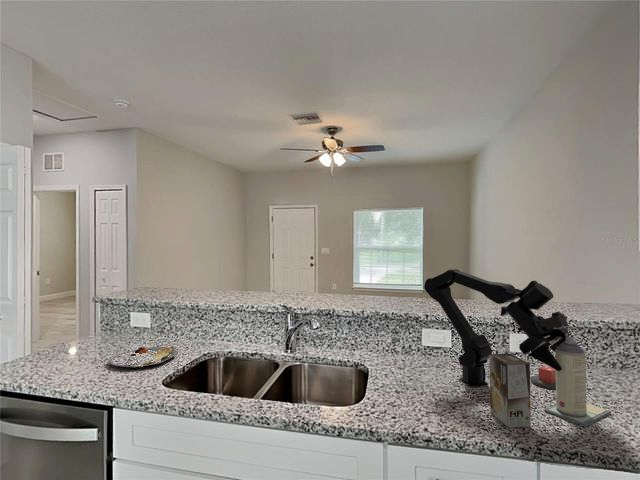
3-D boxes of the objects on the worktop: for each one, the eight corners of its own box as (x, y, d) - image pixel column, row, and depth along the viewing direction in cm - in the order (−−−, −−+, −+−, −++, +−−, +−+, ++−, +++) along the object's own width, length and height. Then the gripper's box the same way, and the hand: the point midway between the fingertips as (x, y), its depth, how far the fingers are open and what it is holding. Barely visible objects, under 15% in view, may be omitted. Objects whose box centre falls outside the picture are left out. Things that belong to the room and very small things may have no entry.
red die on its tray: (557, 392, 116) (556, 375, 116) (524, 382, 124) (524, 366, 124) (572, 385, 121) (571, 369, 121) (540, 376, 130) (540, 361, 130)
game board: (570, 400, 110) (570, 397, 110) (610, 413, 101) (610, 410, 101) (544, 411, 103) (544, 408, 103) (584, 426, 94) (584, 423, 94)
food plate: (140, 349, 166) (140, 342, 166) (187, 353, 161) (187, 345, 161) (96, 370, 141) (96, 361, 141) (150, 374, 137) (150, 365, 137)
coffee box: (532, 427, 94) (531, 363, 94) (508, 428, 94) (507, 364, 94) (510, 411, 103) (510, 352, 103) (488, 412, 103) (488, 353, 103)
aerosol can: (568, 404, 105) (567, 333, 106) (592, 415, 99) (591, 339, 99) (550, 408, 103) (549, 335, 103) (574, 419, 96) (572, 341, 97)
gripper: (530, 306, 100) (577, 357, 91) (561, 299, 111) (606, 345, 102) (502, 329, 107) (543, 380, 98) (533, 321, 118) (573, 366, 109)
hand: (568, 366), depth 101 cm, fingers open, 9 cm apart
